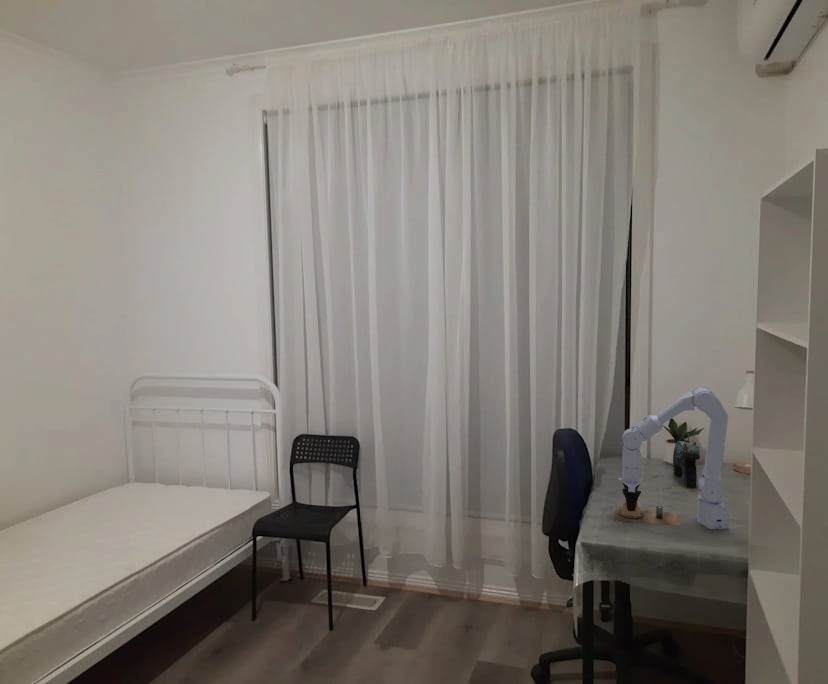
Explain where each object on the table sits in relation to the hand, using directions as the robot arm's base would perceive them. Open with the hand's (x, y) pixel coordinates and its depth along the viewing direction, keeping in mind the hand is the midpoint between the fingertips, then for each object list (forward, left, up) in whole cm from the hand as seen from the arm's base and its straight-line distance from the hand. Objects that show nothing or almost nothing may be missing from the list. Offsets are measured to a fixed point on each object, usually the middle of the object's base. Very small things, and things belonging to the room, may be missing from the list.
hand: (631, 507), depth 207 cm
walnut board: (-2, -4, -4) cm, 6 cm away
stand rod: (-3, -8, -3) cm, 9 cm away
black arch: (+37, -37, -4) cm, 53 cm away
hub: (0, 0, -3) cm, 3 cm away
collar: (0, 0, -2) cm, 2 cm away
